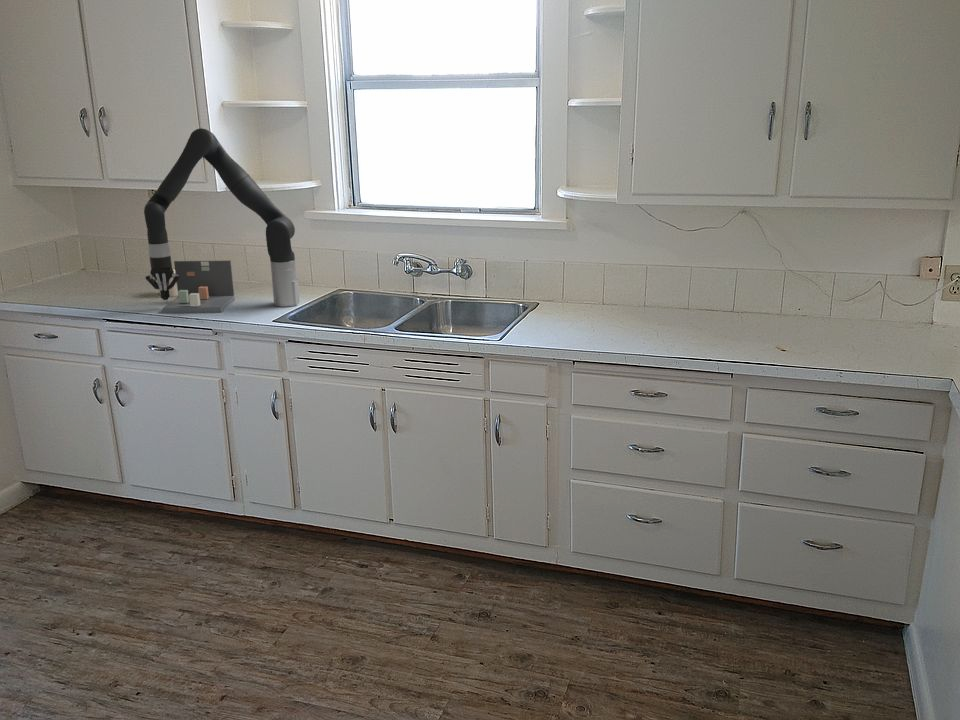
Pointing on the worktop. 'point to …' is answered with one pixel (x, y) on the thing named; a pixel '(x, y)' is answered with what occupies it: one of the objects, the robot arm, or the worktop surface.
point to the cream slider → (194, 299)
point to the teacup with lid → (173, 291)
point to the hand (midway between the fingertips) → (165, 299)
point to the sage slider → (183, 296)
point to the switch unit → (203, 285)
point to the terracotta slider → (203, 292)
